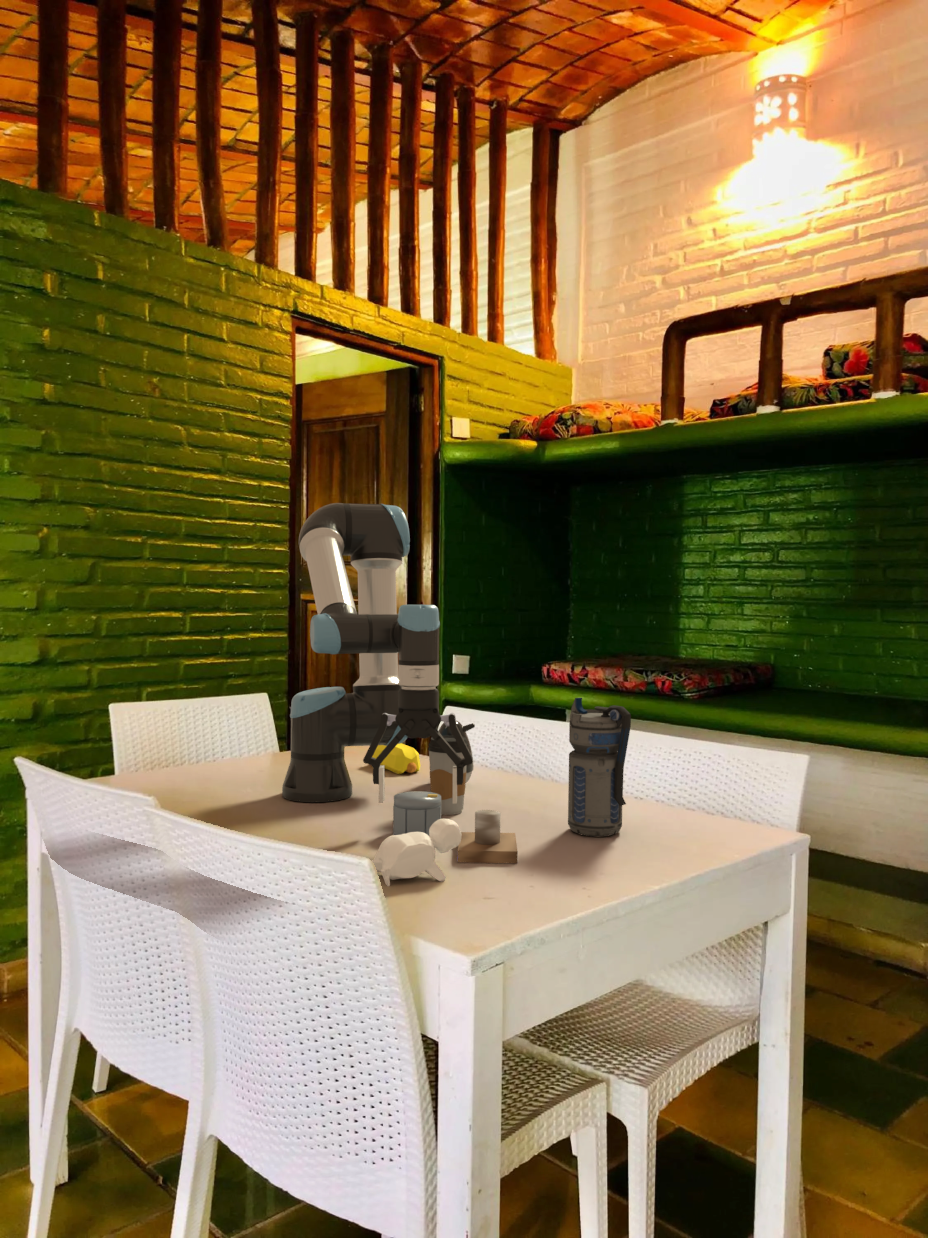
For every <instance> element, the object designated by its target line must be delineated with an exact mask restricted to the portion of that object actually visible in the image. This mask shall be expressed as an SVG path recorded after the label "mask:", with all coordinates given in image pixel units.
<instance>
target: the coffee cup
mask: <svg viewBox="0 0 928 1238" xmlns="http://www.w3.org/2000/svg"><path fill="white" fill-rule="evenodd" d="M442 737H443V738H444V739H445V740H446V741H447V742H448V744H449V745H450V746H451V747H452V748H453V750H454V751H455V752H456V753H457V754H458V756H459V757H460V758H461V759H463V758H464V756H463V754H462V752H461V750H460V748H459V746H458V744H457V742H456V740H455V738H454V736H442ZM463 739H464V741H465V743H466V738H464V737H463ZM429 741H430V742H429V743H428V748H427V750H428V756H429V782H430V783H429V785H430V792H432V793H437V794H439V795H441V815H444V816H445V815H447V816H451V815H453V816H455V815H459V814H461V813H462V811H463V810H464V805H465V804H464V802H465V795H466V793H465V792H466V784H467V783H466V766H464V768H463V783H462V785H457V804H453V766H456V765H455V763H454V762H453V761H452V760H451V759H450V757H449V756H448V755H447V754H446V753H445V751H444V750H443V749H442V748H441V747H440V746H439V744H438V743H437V742H436V741H435V740H434V739H433V738H432V737H431V738H430V740H429ZM466 745H467V747H468V743H466Z"/></svg>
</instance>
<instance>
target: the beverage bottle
mask: <svg viewBox="0 0 928 1238" xmlns="http://www.w3.org/2000/svg"><path fill="white" fill-rule="evenodd" d="M570 708H571V709H570V715H569V722H568V723H569V729H568V730H569V733H568V735H569V736H568V737H569V739H568V741H569V744H570V745H571V747H572V748H573V750H571V751H570V752H569V753H568V793H567V794H568V795H567V796H568V797H567V798H568V800H567V801H568V802H567V807H568V809H567V825H568V827H569V829H570V830H571V831H572V832H573V833H576V834H579V835H581V834H582V835H581V836H585V835H587V837H592V836H604V837H609V836H608V835H610V836H612V834H613V835H616V834H618V833H619V832H620V830H621V829H622V826H623V806H624V805H625V806H626V805H627V803H626V800H625V799H624V795H623V794H624V768H625V761H626V756H627V749H628V744H629V739H630V733H631V732H630V731H631V723H632V722H631V721H632V715H631V714H632V713H630V712H629V711H628V710H627V709H626V708H625V707H624V706H620V705H610V706H609V707H607V706H605V707H604V706H594V709H584V707H583V697H574V701H573V703H572V704H571V707H570Z"/></svg>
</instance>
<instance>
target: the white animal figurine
mask: <svg viewBox="0 0 928 1238" xmlns="http://www.w3.org/2000/svg"><path fill="white" fill-rule="evenodd" d="M461 832H462V831H461V829H460V826H459V824H458V823H457V822H456V821H455V820H453V819H451V818H450V819H449V818H441V819H439V820H437V821H435V822H434V823H433V824H432V826H431V827H430V829H429V836H428V835H427V834H425V833H423V832H410V833H406V834H402V835H393V834H391V835H389V836H388V837H386V838H385V839H383V840H382V842H381V843H380V845H379V847H378V850H377V852H376V854H375V855H374V858H373V859H371V860H372V862H373V863H374V865H375V867H376V870H377V872H378V873H379V872H380V873H381V875H382V878H383V880H384V883H385V885H386V886H387V887H390V885H391V882H390V881H391V880H392V881H395V880H403V879H412V878H415V877H418V876H419V875H421V874H423V873H424V872H425V873H427V874H428V875H430V876H431V877H433V879H436V880H437V881H439V882H444V881H445V880H446V879H447V878H446V877H447V876H446V875H445V873H444V872H443V870H442V869H441V868H440V866H439V865H438V864H437V863H436V861H435V859H436V850H437V852H438V853H440V854H443V853H448V852H449V851H450V850H452V849H455V848H458V845H459V844H460V842H461V836H462V833H461Z"/></svg>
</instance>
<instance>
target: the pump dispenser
mask: <svg viewBox="0 0 928 1238" xmlns="http://www.w3.org/2000/svg"><path fill="white" fill-rule="evenodd" d="M456 725H457V727H458V729H459V731H460V733H461V735H462V737H464V738H466V743H468V749H469V751H470V753H471V755H472V757H473V752H472V751H473V750H472V746H471V742H470V739H469V737H468V735H467V732H469V731H470V730H472V729H474V728H475V726H476V725H475V723H469V724H466V725H463V724H462V723H461V722H460V721H458V720H456ZM437 730H438V731H439V732H440V734H441V735H442V736H453V734H452V732H451V730H450V726H446V725H445V723H444V722H443V723H442V724H441V725H440V727H439V729H437ZM473 771H474V762H473V763H472V764H469V765H466V783H465V784H467V783H468V782H469V781H470V779H471V777H472V773H473Z"/></svg>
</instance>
